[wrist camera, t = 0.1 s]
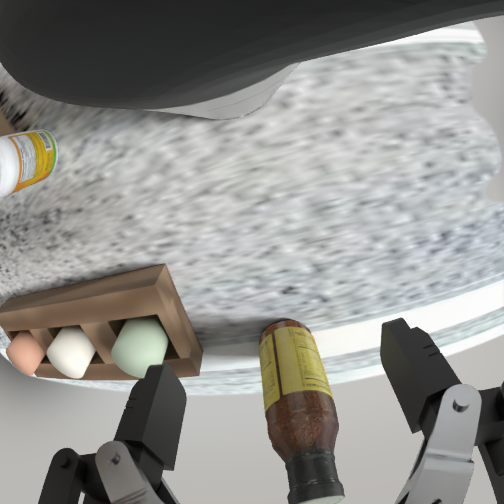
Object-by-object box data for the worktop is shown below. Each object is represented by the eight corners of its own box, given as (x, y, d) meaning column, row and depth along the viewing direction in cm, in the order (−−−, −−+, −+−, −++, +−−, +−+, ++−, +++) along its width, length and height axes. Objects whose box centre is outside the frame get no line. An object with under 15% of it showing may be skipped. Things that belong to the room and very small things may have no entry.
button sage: (118, 314, 27) (102, 343, 23) (159, 307, 27) (146, 339, 23) (138, 348, 29) (126, 378, 25) (177, 344, 29) (168, 377, 25)
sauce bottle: (275, 363, 33) (290, 517, 15) (247, 332, 31) (248, 509, 13) (323, 340, 32) (365, 498, 14) (299, 305, 30) (341, 490, 12)
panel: (8, 299, 30) (-7, 314, 26) (165, 263, 27) (154, 285, 24) (47, 360, 35) (37, 376, 31) (203, 350, 32) (199, 375, 29)
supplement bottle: (23, 174, 23) (-39, 201, 14) (28, 126, 20) (-38, 140, 12) (56, 183, 23) (-7, 215, 15) (64, 131, 21) (-5, 145, 12)
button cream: (57, 322, 28) (39, 347, 24) (85, 318, 28) (67, 346, 23) (77, 352, 30) (62, 377, 26) (105, 350, 30) (91, 378, 25)
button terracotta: (17, 326, 29) (0, 347, 25) (35, 324, 29) (18, 347, 24) (34, 352, 31) (20, 374, 27) (54, 352, 31) (39, 376, 26)
